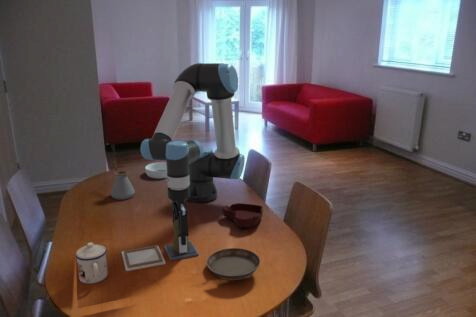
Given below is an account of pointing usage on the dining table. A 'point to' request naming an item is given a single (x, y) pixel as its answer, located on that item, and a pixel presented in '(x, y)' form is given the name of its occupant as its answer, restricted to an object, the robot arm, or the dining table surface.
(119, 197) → the coffee pot
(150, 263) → the board
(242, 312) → the dining table surface
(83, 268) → the teacup with lid
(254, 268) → the plant saucer
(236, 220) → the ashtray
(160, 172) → the cereal bowl
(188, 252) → the ink pad
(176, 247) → the olive knob handle
